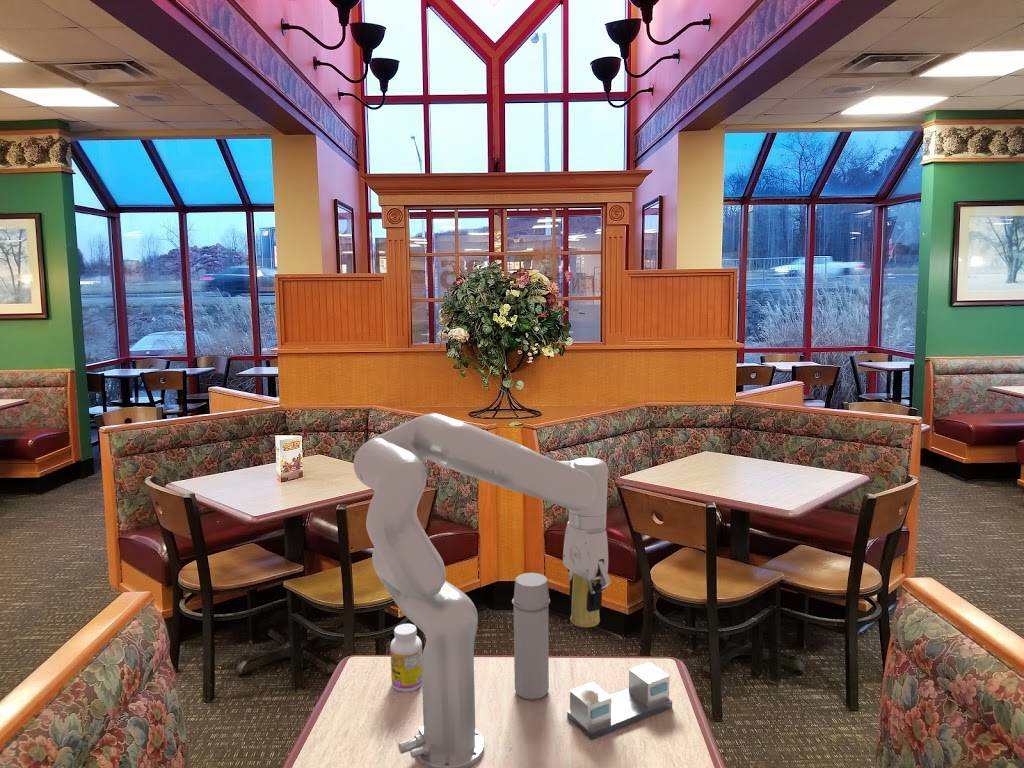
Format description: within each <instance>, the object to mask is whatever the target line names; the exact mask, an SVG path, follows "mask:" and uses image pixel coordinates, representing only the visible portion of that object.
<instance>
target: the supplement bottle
mask: <svg viewBox="0 0 1024 768" xmlns="http://www.w3.org/2000/svg"><path fill="white" fill-rule="evenodd" d="M417 630H418V629H417V626H416V625H415V624H414V623H413V624H412V623H402V624H399V625H397V626H396V627H395V628H394V629H393V631H394V632H393V635H394V638H392V640H391V642H390V645H389V646H390V648H389V649H390V650H389V651H390V672H391V673H390V674H391V686H392V688H394V690H396V691H398V692H401V691H402V693H408V692H409V691H410V692H412V691H415V690H417V689H419V688H420V687H422V674H421V659H422V653H423V643H422V642H423V641H422V640H421V638H420V637H419V636H418V635H417V634H418V632H417Z"/></svg>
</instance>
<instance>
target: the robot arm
mask: <svg viewBox="0 0 1024 768" xmlns="http://www.w3.org/2000/svg"><path fill="white" fill-rule="evenodd" d="M425 461H430V462H433V463H435V464H437V465H439V466H441V467H444V468H445V469H449V470H452V471H454V472H458V473H460V474H464V475H467V476H470V477H472V478H475V479H478V480H481V481H483V482H487V483H490V484H492V485H495V486H499V487H501V488H503V489H505V490H506V489H507V490H509V491H513V492H516V493H521V494H523V495H526V496H530V497H534V498H536V499H539V500H541V501H544V502H548V503H551V504H553V505H556V506H560V507H562V508H565V509H568V521H567V523H566V527H565V533H564V539H563V550H562V551H563V553H562V565H564V567H565V568H566V570H567V571H568V575H567V577H568V580H569V599H570V600H572V585H573V573H575V574H576V575H578V576H579V577H581V578H583V579H584V580H586V581H588V584H589V590H590V592H588V594H587V611H589V612H592V611H596V610H599V611H600V610H601V609H602V606H603V605H602V604H603V603H602V602H603V599H602V598H603V592H604V591H605V589H606V588H607V587H608V586H610V585H611V583H612V580H611V578H610V576H609V572H608V571H609V544H608V535H607V534H608V532H607V529H606V528H607V505H608V504H607V503H608V477H609V476H608V474H609V472H608V471H609V470H608V465H607V462H606V461H604V460H603V459H599V458H596V457H579V458H575V459H574V460H555V459H553V458H552V457H549V456H546V455H544V454H540V453H539V452H537V451H535V450H533V449H531V448H529V447H526V446H525V445H523V444H519V443H518V442H515V441H513V440H510V439H508V438H505V437H503V436H500V435H497V434H495V433H493V432H490V431H487V430H485V429H482V428H480V427H477V426H475V425H472V424H469V423H466V422H464V421H462V420H459V419H455V418H452V417H449V416H446V415H445V414H444V415H443V414H440V413H427V414H424V415H421V416H419V417H416V418H414V419H411V420H408V421H406V422H405V423H402V424H401V425H398V426H396V427H394V428H392V429H389V430H387V431H385V432H383V433H381V434H379V435H377V436H375V437H373V438H371V439H369V440H367V441H366V442H365V443H363V444H362V445H361V446H360V447H359V449H358V450H357V452H356V453H355V455H354V458H353V470H354V474H355V476H356V478H357V479H358V480H359V481H360V482H361V483H362V485H365V486H366V487H368V488H370V489H371V490H372V491H374V493H373V496H372V497H371V499H370V502H369V506H368V509H367V514H366V521H365V528H366V532H367V534H368V537H369V539H370V541H371V544H372V545H373V549H372V554H371V555H372V557H371V559H372V560H371V561H372V566H373V569H374V571H375V573H376V576H377V577H378V579H379V580H380V582H381V583H382V585H383V586H384V588H385V589H386V591H387V592H388V594H389V596H390V597H391V598H392V600H393V601H394V603H395V605H396V606H397V607H398V608H399V610H400V611H401V613H402V614H403V615H404V616H405V617H406V618H407V619H408V620H409V621H411V623H413V625H415V626H416V627H417V628H418V629H419V630H421V631H422V632H423V634H424V636H425V644H424V648H423V649H422V659H421V674H422V685H421V690H422V691H421V693H422V717H423V719H422V720H423V725H422V726H419V727H418V733H417V734H415V735H414V737H412V738H411V739H406V740H403V741H401V742H398V750H399V753H400V754H401V755H403V754H405V753H410V758H412V759H414V758H417V760H418V761H419V762H420V764H422V765H423V766H425V767H426V768H469V767H470V766H472V765H474V764H476V763H477V762H478V761H479V760H480V758H481V757H482V756H483V754H484V750H485V739H484V737H483V735H482V733H481V732H479V730H477V729H476V697H475V695H476V694H475V689H476V688H475V661H474V660H475V659H474V655H475V653H474V652H475V651H474V650H475V641H476V636H477V635H476V634H477V630H478V625H479V615H478V611H477V608H476V606H475V604H474V602H473V601H472V599H471V598H470V597H469V596H468V595H467V594H466V593H464V592H463V591H462V590H461V589H459V588H458V587H457V586H455V585H453V584H452V583H450V582H448V581H447V580H446V577H447V573H446V571H447V570H446V567H445V563H444V560H443V558H442V556H441V555H440V553H439V552H438V550H437V549H436V547H435V546H434V544H433V543H432V541H431V538H429V536H428V534H427V533H426V531H425V529H424V528H423V526H422V524H421V522H420V520H419V518H418V511H417V510H418V505H419V502H420V500H421V497H422V495H423V494H424V491H425V488H426V484H427V469H426V466H425V464H424V462H425ZM596 574H597V576H596ZM594 580H597V584H596V585H595V586H594V582H593V581H594Z"/></svg>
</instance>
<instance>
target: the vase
mask: <svg viewBox="0 0 1024 768" xmlns="http://www.w3.org/2000/svg"><path fill="white" fill-rule="evenodd" d="M596 576H597V574H596ZM593 582H594V586H595V585H596V584H597V580H594V581H593ZM588 592H590V590H589V584H588V581H586V580H584V579H583V578H581V577H579V576H578V575H576V574H575V573H573V585H572V599H571V613H570V618H569V620H570V622H571V623H572V625H574V626H577V627H580V628H593V627H595V626H597V625H599V623H600V622H601V618H600V609H599V610H596V611H592V612H589V611H587V594H588Z"/></svg>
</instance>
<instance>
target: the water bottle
mask: <svg viewBox="0 0 1024 768" xmlns="http://www.w3.org/2000/svg"><path fill="white" fill-rule="evenodd" d="M511 603H512V604H513V652H514V653H513V655H514V656H513V657H514V659H513V661H514V663H513V664H514V669H513V670H514V671H513V672H514V690H515V692H516V694H517V695H518V696H519V697H521V698H523V699H527V700H537V699H539V700H540V699H541V698H542V697H545V695H547V693H548V692H549V688H550V685H549V680H550V677H549V675H550V673H549V672H550V670H549V669H550V667H549V664H550V663H549V662H550V661H549V657H550V655H549V645H550V643H549V636H550V635H549V604H550V603H551V599H550V593H549V582H548V578H547V577H546V576H545V574H542V573H537V572H525V573H522V574H519V575H517V576H516V578H515V581H514V591H513V598H512V600H511Z"/></svg>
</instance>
